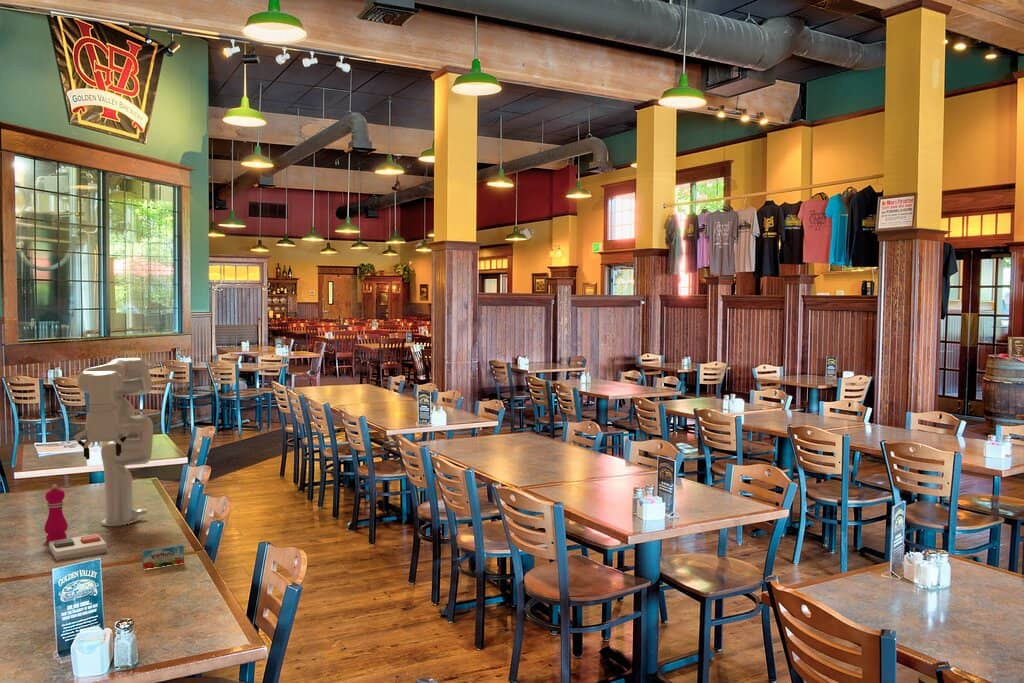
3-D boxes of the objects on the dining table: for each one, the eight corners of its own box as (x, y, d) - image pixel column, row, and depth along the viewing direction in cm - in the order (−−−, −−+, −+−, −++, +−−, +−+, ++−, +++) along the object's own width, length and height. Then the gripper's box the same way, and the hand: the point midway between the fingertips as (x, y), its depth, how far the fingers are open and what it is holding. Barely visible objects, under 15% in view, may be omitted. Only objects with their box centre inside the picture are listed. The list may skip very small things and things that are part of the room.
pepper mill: (57, 543, 283) (55, 486, 282) (39, 542, 285) (38, 486, 284) (72, 537, 290) (71, 482, 289) (55, 536, 292) (53, 481, 291)
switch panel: (97, 542, 284) (97, 533, 284) (106, 552, 272) (106, 543, 272) (49, 550, 275) (48, 541, 275) (56, 560, 263) (56, 551, 263)
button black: (71, 545, 275) (71, 538, 275) (74, 548, 271) (73, 541, 271) (54, 548, 272) (54, 540, 272) (57, 551, 268) (56, 544, 268)
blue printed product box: (143, 570, 253) (142, 551, 253) (142, 569, 254) (142, 550, 254) (184, 564, 259) (183, 545, 259) (183, 563, 260) (183, 544, 260)
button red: (97, 541, 280) (97, 534, 279) (100, 544, 276) (100, 537, 276) (81, 544, 277) (81, 536, 276) (83, 547, 273) (83, 540, 272)
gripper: (125, 405, 290) (127, 452, 290) (71, 409, 279) (73, 458, 280) (130, 407, 284) (132, 455, 284) (75, 411, 273) (77, 461, 274)
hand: (102, 457), depth 282 cm, fingers open, 9 cm apart
